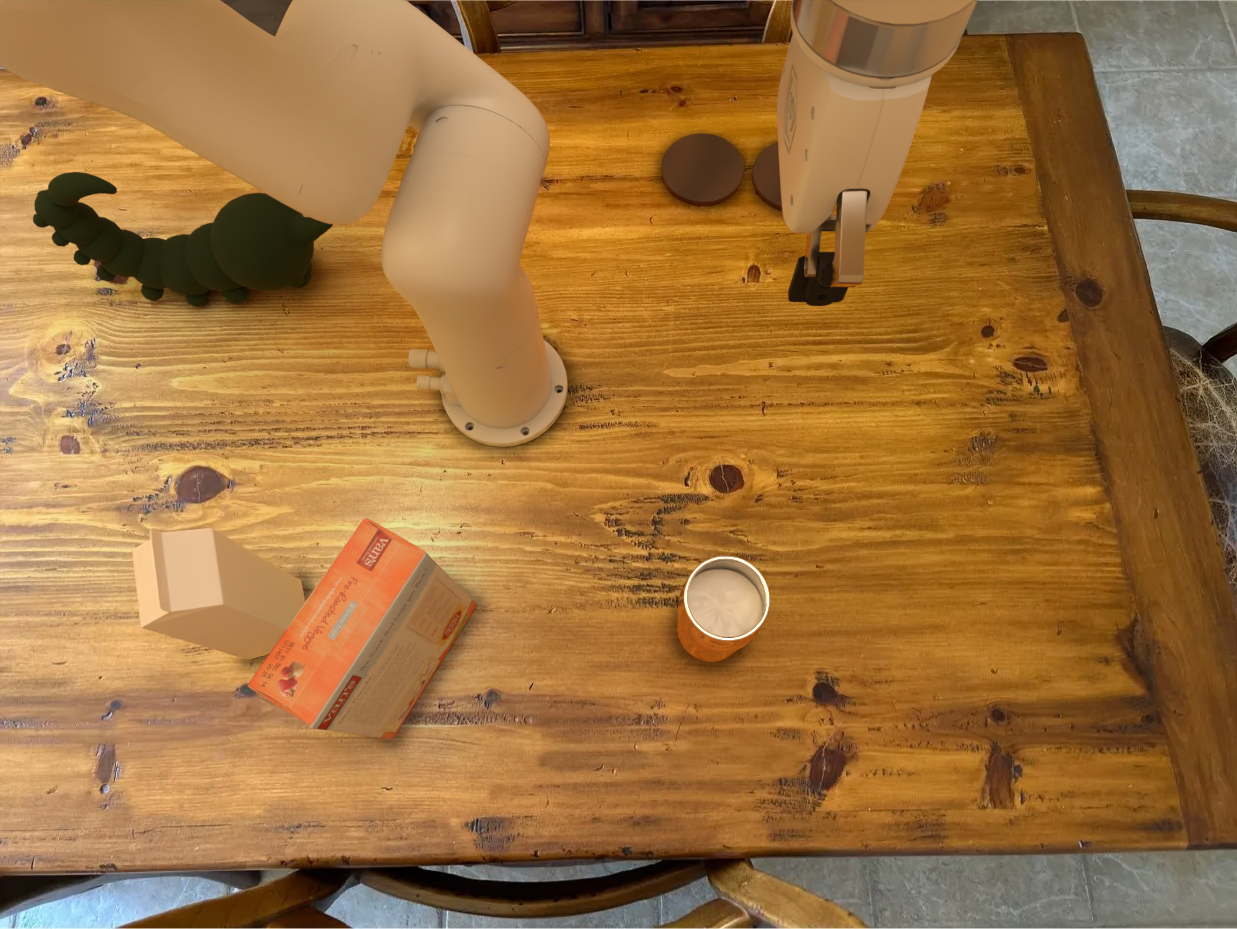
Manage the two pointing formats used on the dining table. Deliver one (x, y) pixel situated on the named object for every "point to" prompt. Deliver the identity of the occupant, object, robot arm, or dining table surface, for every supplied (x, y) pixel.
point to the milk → (213, 592)
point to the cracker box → (366, 637)
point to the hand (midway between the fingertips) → (809, 227)
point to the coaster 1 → (702, 169)
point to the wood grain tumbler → (721, 607)
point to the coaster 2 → (768, 176)
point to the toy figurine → (186, 244)
